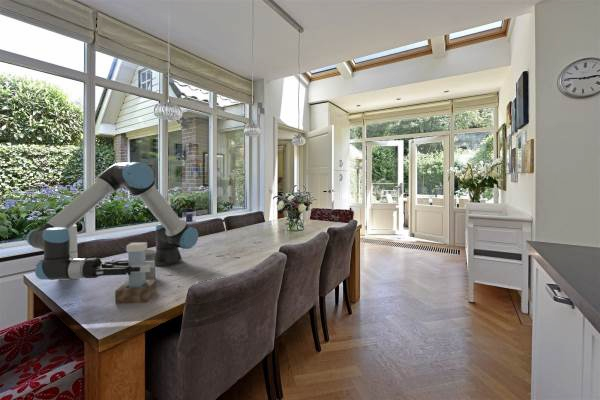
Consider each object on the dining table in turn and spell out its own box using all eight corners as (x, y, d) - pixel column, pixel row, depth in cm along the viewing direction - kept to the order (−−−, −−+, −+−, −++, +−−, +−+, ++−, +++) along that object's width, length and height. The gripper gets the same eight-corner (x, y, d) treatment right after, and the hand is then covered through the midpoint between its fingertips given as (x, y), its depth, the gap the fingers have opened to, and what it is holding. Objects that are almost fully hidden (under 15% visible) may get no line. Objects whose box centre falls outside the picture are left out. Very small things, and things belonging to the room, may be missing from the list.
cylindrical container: (81, 276, 138) (80, 225, 136) (65, 281, 131) (63, 227, 130) (71, 274, 140) (70, 224, 139) (55, 278, 134) (53, 226, 132)
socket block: (115, 306, 107) (115, 290, 106) (127, 294, 118) (127, 280, 117) (147, 304, 109) (147, 289, 109) (156, 293, 120) (155, 279, 119)
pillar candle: (133, 278, 137) (133, 247, 136) (156, 275, 141) (155, 246, 140) (130, 285, 128) (129, 252, 127) (154, 282, 132) (154, 251, 131)
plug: (127, 297, 110) (126, 245, 109) (132, 292, 116) (132, 242, 115) (142, 296, 112) (142, 245, 110) (147, 291, 117) (147, 242, 116)
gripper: (98, 270, 119) (158, 268, 123) (73, 286, 101) (144, 283, 106) (97, 252, 118) (158, 251, 123) (72, 265, 101) (144, 263, 105)
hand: (151, 266), depth 114 cm, fingers closed on plug, 5 cm apart
